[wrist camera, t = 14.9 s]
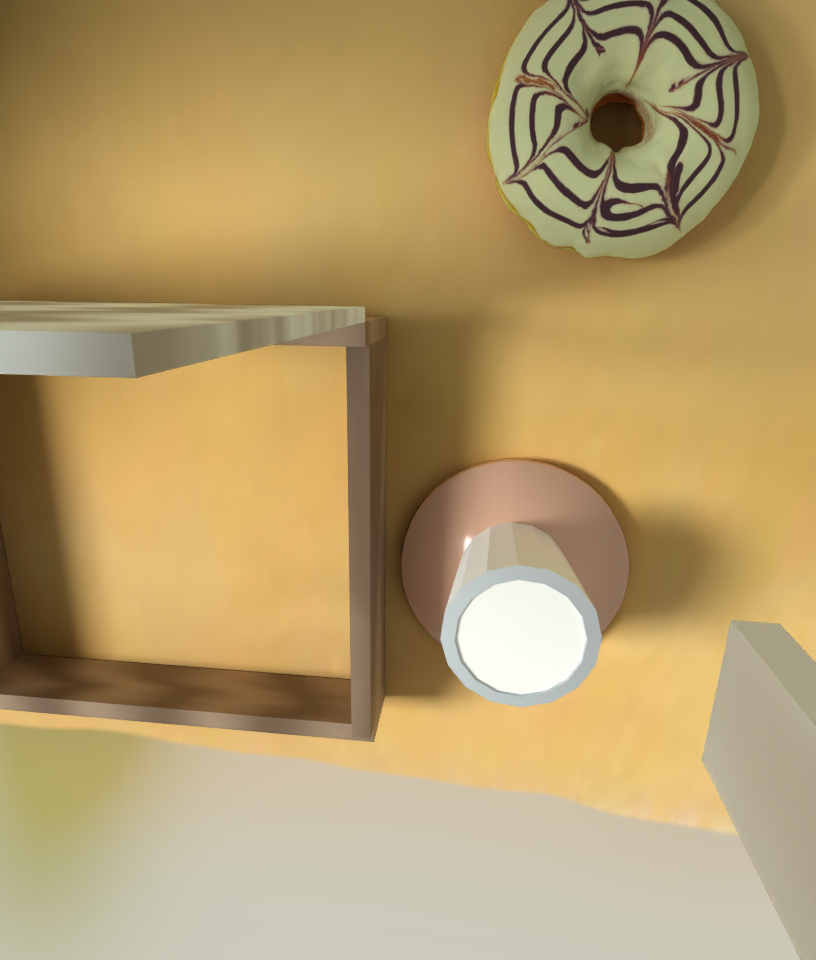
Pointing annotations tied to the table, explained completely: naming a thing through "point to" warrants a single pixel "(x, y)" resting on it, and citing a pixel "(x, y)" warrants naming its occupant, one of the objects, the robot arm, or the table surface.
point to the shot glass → (519, 619)
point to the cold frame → (330, 701)
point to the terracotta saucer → (520, 499)
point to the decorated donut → (654, 96)
